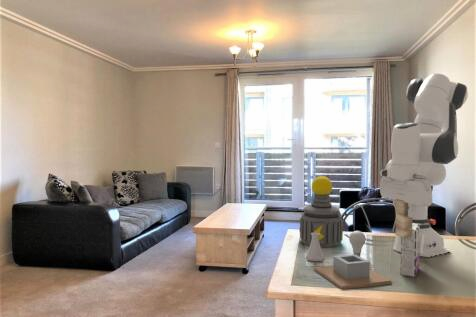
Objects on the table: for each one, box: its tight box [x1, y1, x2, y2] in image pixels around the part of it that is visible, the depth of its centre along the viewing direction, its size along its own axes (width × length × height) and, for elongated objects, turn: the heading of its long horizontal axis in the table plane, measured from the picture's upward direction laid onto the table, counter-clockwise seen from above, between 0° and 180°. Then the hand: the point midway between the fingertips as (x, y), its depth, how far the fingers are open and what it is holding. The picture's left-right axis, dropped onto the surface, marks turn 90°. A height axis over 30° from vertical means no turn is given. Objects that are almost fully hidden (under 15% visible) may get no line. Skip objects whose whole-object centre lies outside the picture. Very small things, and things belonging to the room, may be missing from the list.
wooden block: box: [395, 193, 412, 237], centre depth 122 cm, size 4×4×14 cm
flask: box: [305, 233, 325, 262], centre depth 144 cm, size 7×7×10 cm
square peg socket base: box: [313, 253, 392, 290], centre depth 126 cm, size 18×18×6 cm
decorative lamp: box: [299, 175, 344, 249], centre depth 168 cm, size 19×19×30 cm
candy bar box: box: [400, 223, 420, 278], centre depth 131 cm, size 11×5×16 cm, turn 148°
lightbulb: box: [348, 230, 367, 257], centre depth 145 cm, size 6×6×11 cm
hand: (404, 215), depth 122 cm, fingers closed on wooden block, 3 cm apart
